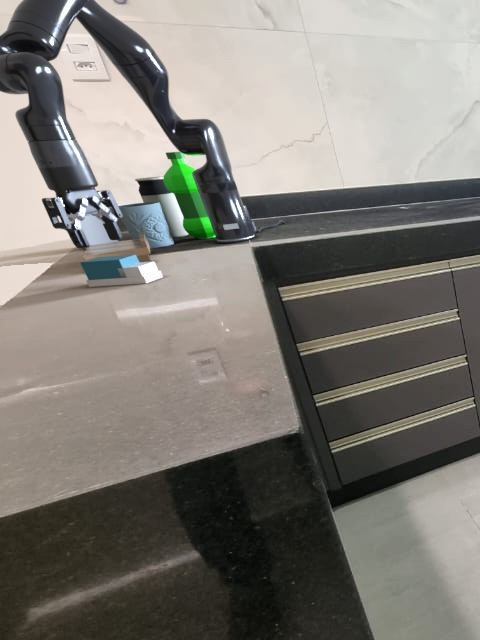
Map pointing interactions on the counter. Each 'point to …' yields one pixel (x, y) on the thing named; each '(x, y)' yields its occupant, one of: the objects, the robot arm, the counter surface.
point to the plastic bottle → (187, 197)
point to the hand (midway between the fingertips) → (100, 243)
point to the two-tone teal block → (119, 271)
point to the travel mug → (163, 202)
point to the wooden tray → (121, 249)
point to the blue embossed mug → (147, 223)
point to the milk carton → (95, 230)
